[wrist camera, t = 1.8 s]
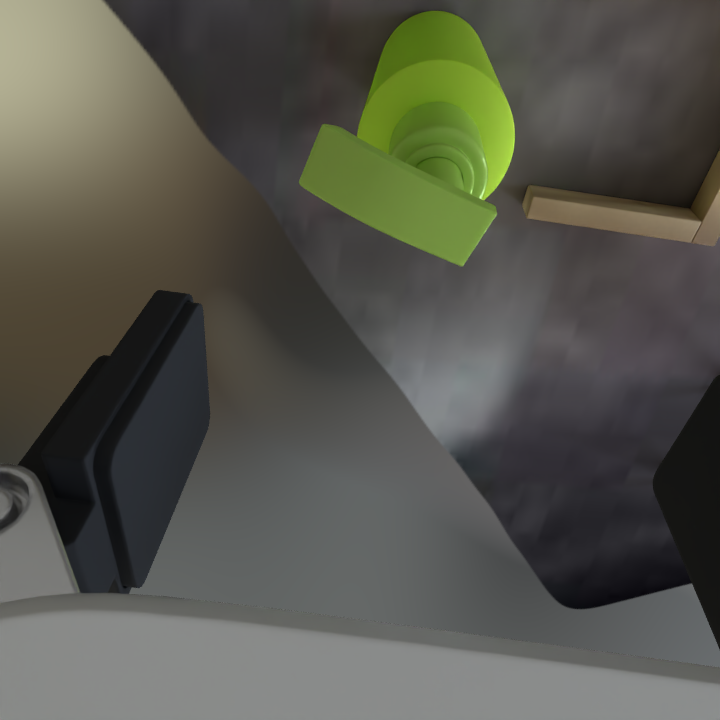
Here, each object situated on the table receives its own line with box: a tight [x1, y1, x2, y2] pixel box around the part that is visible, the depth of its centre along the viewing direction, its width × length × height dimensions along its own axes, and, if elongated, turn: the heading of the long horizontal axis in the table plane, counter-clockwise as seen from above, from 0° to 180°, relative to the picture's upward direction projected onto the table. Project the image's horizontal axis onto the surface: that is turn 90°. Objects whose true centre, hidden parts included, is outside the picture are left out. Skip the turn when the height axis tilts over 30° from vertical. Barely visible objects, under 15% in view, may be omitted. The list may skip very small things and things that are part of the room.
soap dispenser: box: [299, 11, 515, 266], centre depth 24 cm, size 6×7×20 cm
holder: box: [522, 149, 720, 246], centre depth 31 cm, size 14×11×2 cm
